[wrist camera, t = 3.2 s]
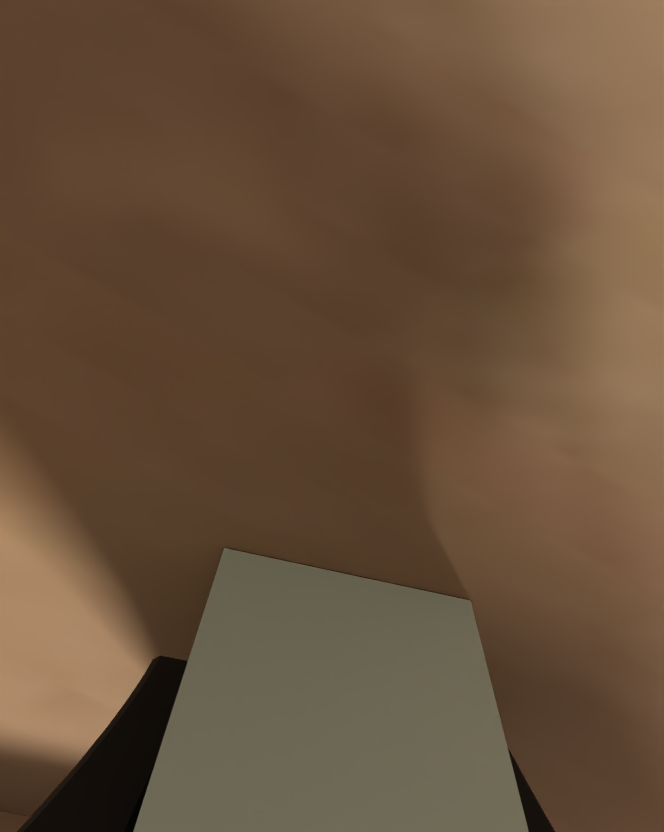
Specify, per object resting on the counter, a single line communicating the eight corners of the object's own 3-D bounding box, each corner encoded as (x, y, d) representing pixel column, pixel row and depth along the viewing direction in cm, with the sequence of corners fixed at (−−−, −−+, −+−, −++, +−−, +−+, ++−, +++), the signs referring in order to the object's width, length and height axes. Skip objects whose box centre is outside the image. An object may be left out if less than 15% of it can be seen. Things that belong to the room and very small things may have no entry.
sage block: (470, 600, 11) (548, 908, 7) (402, 768, 13) (427, 1103, 9) (224, 547, 11) (133, 832, 7) (188, 726, 13) (97, 1050, 8)
